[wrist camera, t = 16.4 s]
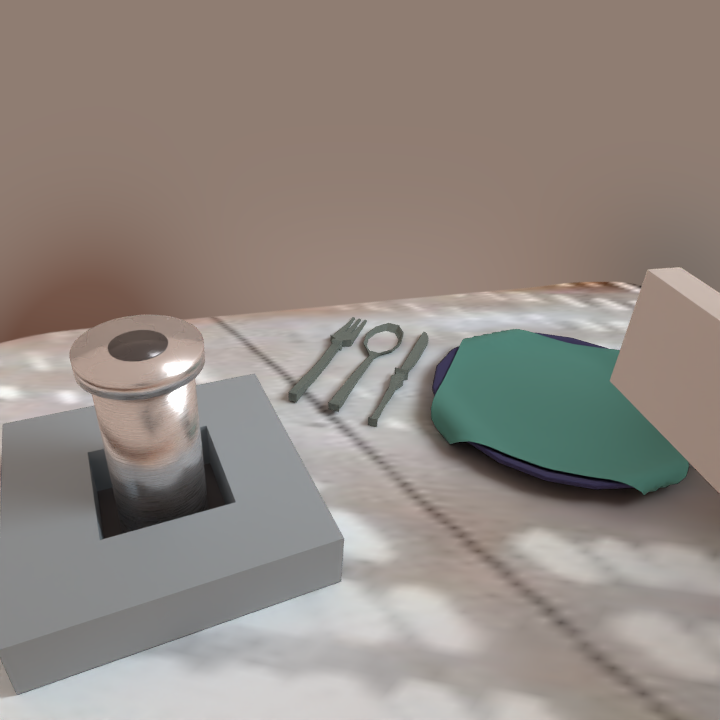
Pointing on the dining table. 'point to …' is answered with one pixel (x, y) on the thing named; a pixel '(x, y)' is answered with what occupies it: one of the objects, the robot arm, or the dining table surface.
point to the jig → (150, 539)
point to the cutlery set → (530, 407)
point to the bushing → (147, 414)
